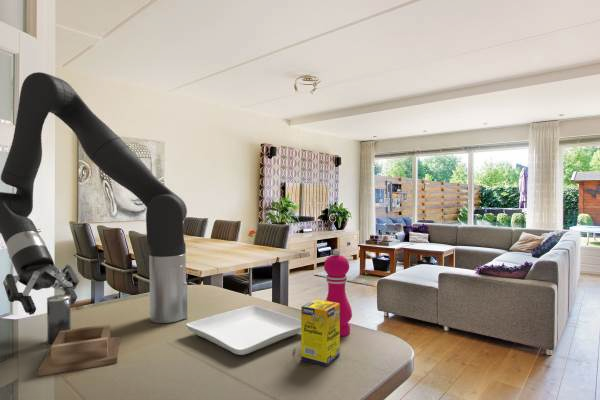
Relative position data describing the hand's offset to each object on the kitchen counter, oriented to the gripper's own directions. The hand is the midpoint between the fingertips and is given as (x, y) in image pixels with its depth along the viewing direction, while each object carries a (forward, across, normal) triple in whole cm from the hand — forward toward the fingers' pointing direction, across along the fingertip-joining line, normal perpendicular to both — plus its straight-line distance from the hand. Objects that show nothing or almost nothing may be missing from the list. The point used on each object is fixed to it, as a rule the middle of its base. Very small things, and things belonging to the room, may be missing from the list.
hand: (54, 307), depth 85 cm
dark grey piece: (+7, 0, +4) cm, 8 cm away
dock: (+16, -2, -6) cm, 17 cm away
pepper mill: (+44, +37, -33) cm, 66 cm away
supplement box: (+46, +22, -36) cm, 62 cm away
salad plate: (+32, +24, -21) cm, 45 cm away
